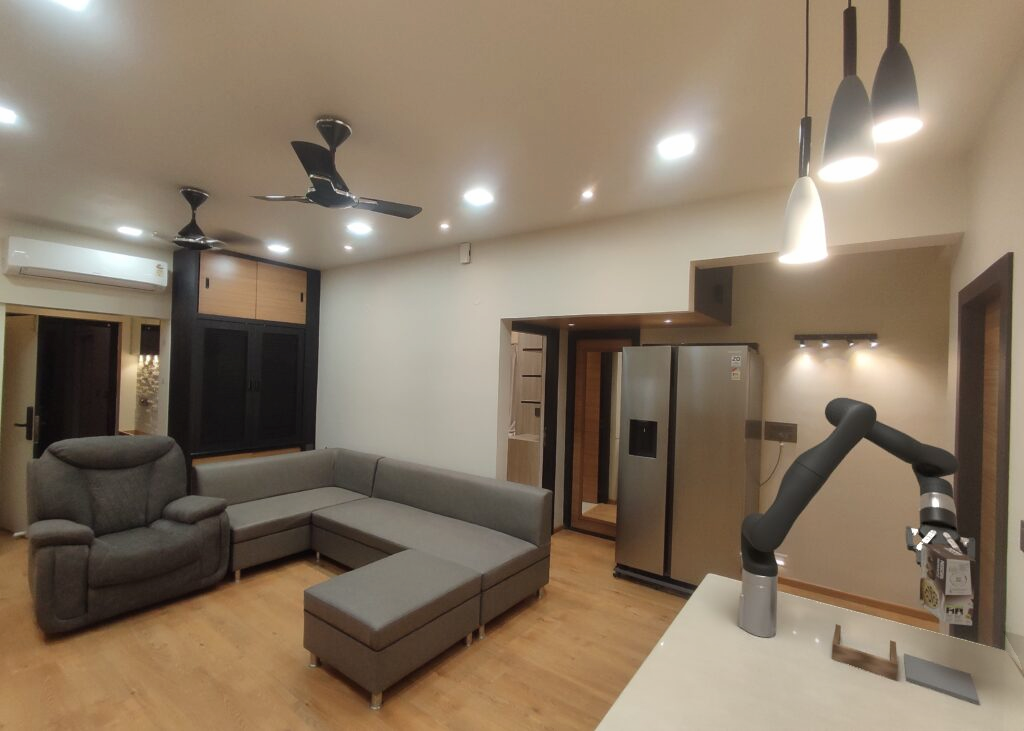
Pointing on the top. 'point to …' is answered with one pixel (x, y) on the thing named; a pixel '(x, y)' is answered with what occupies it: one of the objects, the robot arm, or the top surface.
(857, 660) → the walnut holder
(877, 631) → the top surface
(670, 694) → the top surface
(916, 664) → the charcoal mat
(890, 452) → the robot arm
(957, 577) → the coffee box
